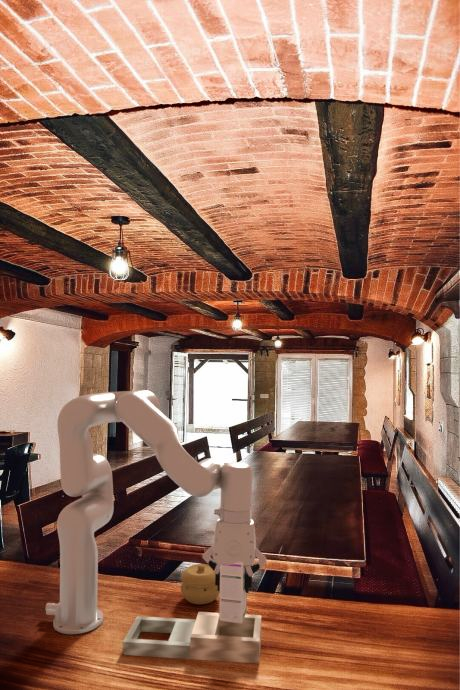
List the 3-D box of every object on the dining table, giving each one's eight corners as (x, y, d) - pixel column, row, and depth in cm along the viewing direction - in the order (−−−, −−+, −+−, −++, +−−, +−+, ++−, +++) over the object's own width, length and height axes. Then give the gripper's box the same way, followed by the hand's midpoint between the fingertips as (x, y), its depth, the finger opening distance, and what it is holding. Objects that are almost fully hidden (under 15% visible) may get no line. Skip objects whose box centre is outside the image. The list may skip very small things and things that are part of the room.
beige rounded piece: (215, 612, 141) (215, 575, 142) (174, 607, 144) (174, 570, 144) (225, 593, 153) (226, 559, 153) (188, 588, 156) (188, 555, 156)
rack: (122, 654, 121) (122, 633, 121) (136, 627, 133) (137, 608, 133) (259, 663, 118) (259, 641, 118) (261, 635, 130) (261, 615, 130)
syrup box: (242, 624, 121) (244, 562, 122) (218, 620, 123) (220, 559, 123) (246, 612, 127) (248, 553, 127) (223, 609, 128) (225, 550, 128)
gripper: (197, 517, 122) (195, 594, 122) (271, 522, 121) (268, 599, 120) (202, 508, 130) (200, 580, 129) (271, 512, 128) (269, 585, 128)
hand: (233, 588), depth 125 cm, fingers closed on syrup box, 6 cm apart
